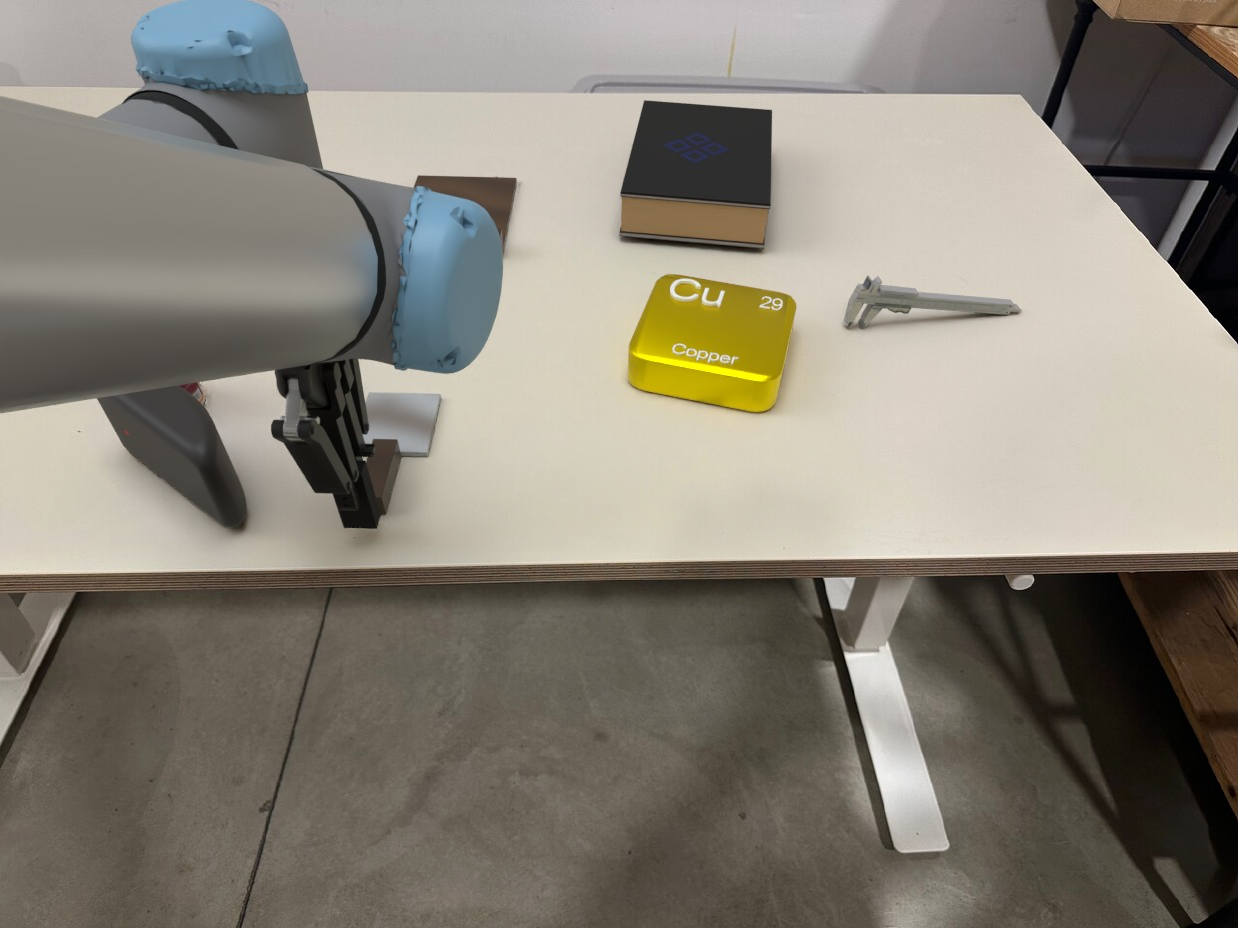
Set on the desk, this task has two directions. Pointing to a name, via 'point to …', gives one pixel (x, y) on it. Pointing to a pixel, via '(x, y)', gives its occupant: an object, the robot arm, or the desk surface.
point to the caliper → (915, 302)
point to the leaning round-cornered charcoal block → (179, 448)
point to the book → (699, 175)
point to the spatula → (397, 435)
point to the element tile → (712, 342)
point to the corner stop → (478, 195)
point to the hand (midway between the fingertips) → (362, 521)
